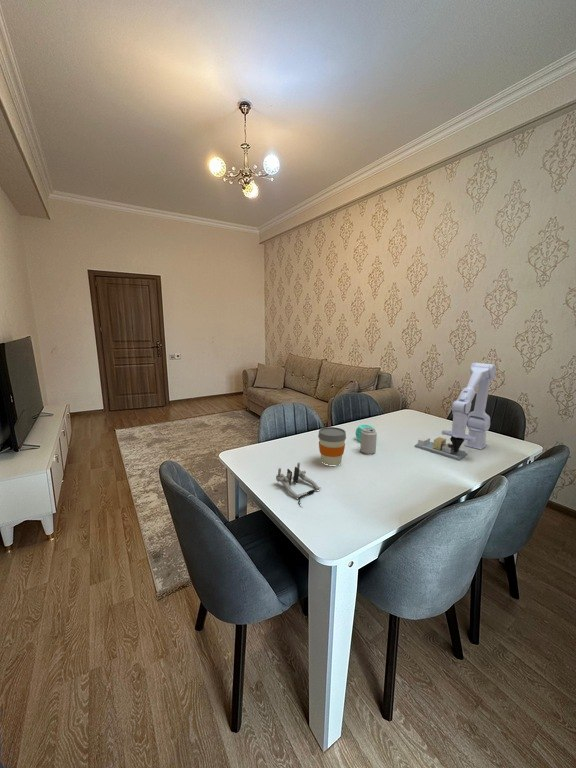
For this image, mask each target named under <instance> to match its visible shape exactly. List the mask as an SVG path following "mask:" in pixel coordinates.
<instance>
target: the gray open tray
mask: <svg viewBox="0 0 576 768" xmlns="http://www.w3.org/2000/svg"><path fill="white" fill-rule="evenodd" d="M433 443H434V441H431V437H428V436H423V437H421V438H419V439H418V440H417V443H416V444H415V445H414V448H417V449H421V450H422V451H426V452H430V453H432V454H436V455H439V456H441V457H442V456H443V457H446V458H449V459H452V460H455V461H461V460H463V459H464V458H465V457H467V456H468V455H469V454H468V452H466V451H465V450H461V449H459V451H458V452H457V453H455V452H454V453H452V454H448V453H445V452H442V451H438V450H435V449H433Z"/></svg>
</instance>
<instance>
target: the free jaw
mask: <svg viewBox="0 0 576 768" xmlns="http://www.w3.org/2000/svg"><path fill="white" fill-rule="evenodd" d="M442 452H445V453H448V454H452V453H454V448H453V445H452V442H446V445H444V446H442Z"/></svg>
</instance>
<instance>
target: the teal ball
mask: <svg viewBox="0 0 576 768" xmlns="http://www.w3.org/2000/svg"><path fill="white" fill-rule="evenodd" d="M367 427H368V428H374V429H375V427H374V426H373V425H370V424H360V425H359V426H357V428H356V430H355V438H356V439H357V440H358V442H359V441H360V442H359V443H361V431H362V430H363V428H367Z"/></svg>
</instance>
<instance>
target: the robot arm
mask: <svg viewBox="0 0 576 768" xmlns="http://www.w3.org/2000/svg"><path fill="white" fill-rule="evenodd" d="M469 368H470V369H469V371H470V378H469V380H468V383H467V385H466V387H464V388H462V390H461V392H460V393H459V395H458V398H457V399H456V400H454V401H453V402H452V406H451V411H452V426H451V430H446V429H443V430H441V435H445V436H449V437H450V439H449V440H450V443H451V444H452V445H453V448H454V452H455V453H457V452H458V451H459V450H460V448H461V446H462V444H463V443H464V441H467V442H465V443H464V444H463V445H464V446H466V447H470V448H472V449H476V450H480V451H481V450H483V449H484V448H485V447H487V446H488V444H486V440H487V439H486V438H487V431H488V430H489V429H490V427H491V417H490V415H489V414H487V413H486V409H487V401H488V397H489V391H490V385H491V382H492V381H494V380H495V378H496V373H497V367H496V365H495V364H494V363H483V362H477V361H475V362H472V363H471V364H470V367H469ZM476 388H477V392H476V391H475V390H476ZM475 395H476V397H475ZM474 398H475V403H474V408H473V411H471V409H472V401H473V400H474ZM466 428H467V429H468V434H466V430H467V429H466Z"/></svg>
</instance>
